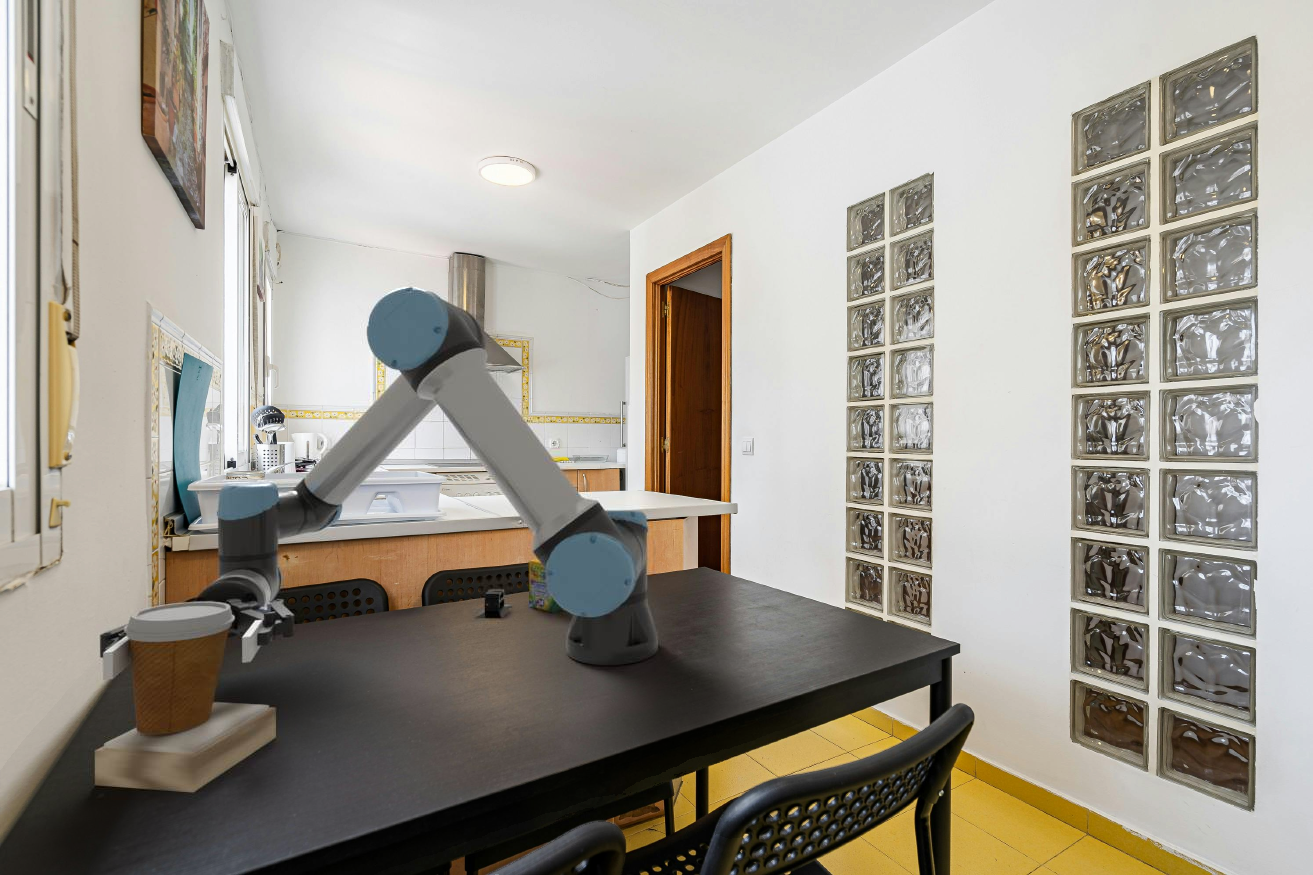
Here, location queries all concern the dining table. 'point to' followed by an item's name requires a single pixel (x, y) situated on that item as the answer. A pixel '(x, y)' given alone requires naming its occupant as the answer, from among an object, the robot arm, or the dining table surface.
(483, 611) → the black block on base
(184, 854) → the dining table surface
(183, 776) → the plinth
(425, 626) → the dining table surface
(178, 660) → the disposable coffee cup
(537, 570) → the crayon box
